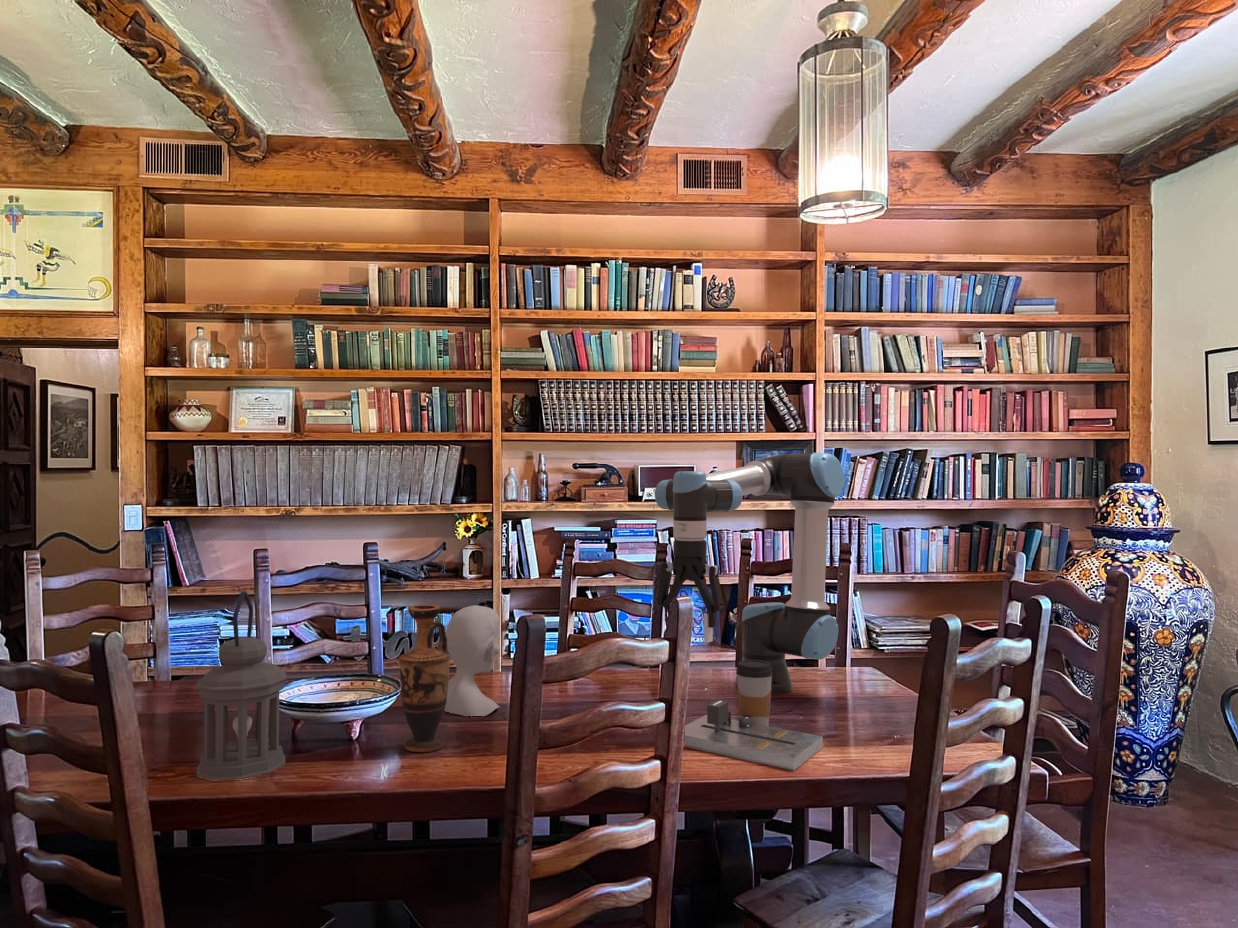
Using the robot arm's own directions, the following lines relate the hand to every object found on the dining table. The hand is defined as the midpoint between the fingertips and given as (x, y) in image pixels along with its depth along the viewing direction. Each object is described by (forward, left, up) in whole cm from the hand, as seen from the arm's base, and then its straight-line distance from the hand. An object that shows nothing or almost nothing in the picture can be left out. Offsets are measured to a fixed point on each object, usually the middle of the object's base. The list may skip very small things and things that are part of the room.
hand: (690, 639), depth 181 cm
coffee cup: (-12, +10, -22) cm, 27 cm away
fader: (0, +7, -21) cm, 22 cm away
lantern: (+68, -65, -22) cm, 96 cm away
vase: (+40, -43, -22) cm, 62 cm away
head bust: (+10, -58, -22) cm, 63 cm away
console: (0, +14, -21) cm, 26 cm away
